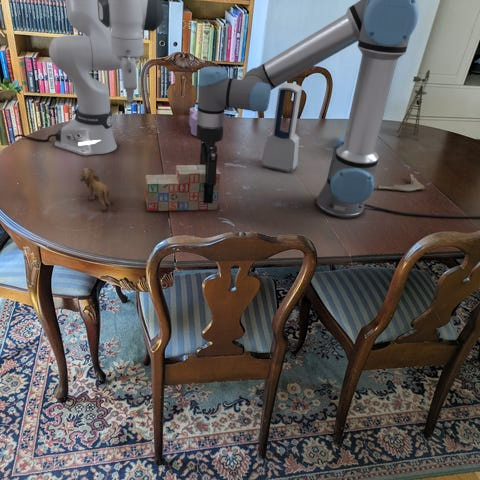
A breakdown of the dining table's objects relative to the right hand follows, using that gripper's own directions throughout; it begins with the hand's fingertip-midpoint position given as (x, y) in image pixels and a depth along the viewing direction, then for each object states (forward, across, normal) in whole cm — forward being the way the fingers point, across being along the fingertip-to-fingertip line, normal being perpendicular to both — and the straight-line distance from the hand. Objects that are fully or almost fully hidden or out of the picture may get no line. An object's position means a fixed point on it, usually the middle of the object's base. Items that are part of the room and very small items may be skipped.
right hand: (205, 197), depth 144 cm
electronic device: (+3, +27, -33) cm, 42 cm away
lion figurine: (+3, +4, +32) cm, 33 cm away
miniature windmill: (+3, +60, -107) cm, 123 cm away
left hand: (-25, +17, +21) cm, 37 cm away
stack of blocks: (+3, 0, +7) cm, 8 cm away
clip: (+3, +65, -11) cm, 66 cm away
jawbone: (+3, +10, -73) cm, 74 cm away
